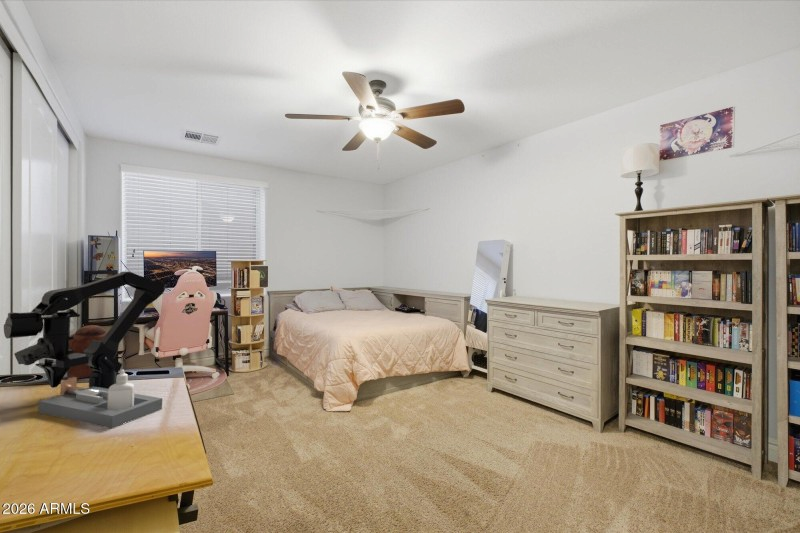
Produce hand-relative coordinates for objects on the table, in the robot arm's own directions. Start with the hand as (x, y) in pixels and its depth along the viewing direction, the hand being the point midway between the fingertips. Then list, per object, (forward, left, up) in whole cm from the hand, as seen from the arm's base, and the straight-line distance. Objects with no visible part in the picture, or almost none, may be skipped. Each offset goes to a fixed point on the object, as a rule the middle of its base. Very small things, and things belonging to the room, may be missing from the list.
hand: (54, 387), depth 106 cm
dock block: (0, +19, -4) cm, 20 cm away
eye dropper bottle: (0, +26, -4) cm, 27 cm away
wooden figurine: (-20, -17, -4) cm, 27 cm away
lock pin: (0, +11, -1) cm, 11 cm away
